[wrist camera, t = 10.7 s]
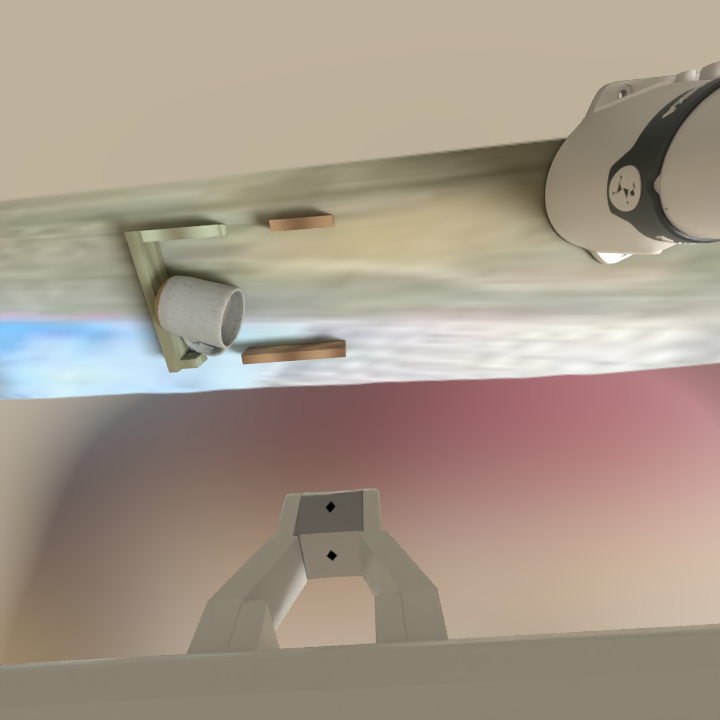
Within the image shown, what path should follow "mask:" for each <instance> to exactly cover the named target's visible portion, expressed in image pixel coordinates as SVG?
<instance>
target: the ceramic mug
mask: <svg viewBox="0 0 720 720" xmlns="http://www.w3.org/2000/svg"><path fill="white" fill-rule="evenodd" d="M154 309H155V317H156V320H157V323H158V324H159V326H160V327H161V328H162V329H163V330H165V331H167V332H169V333H171V334H174V335H177V336H180V337H182V338H183V340H184V341H185V343H186V344H187V345H188V346H189V347H191V348H192V349H193V350H195V351H197V352H199V353H202V354H204V355H208V356H218V355H220V354H222V353H223V352H224V351H225V350H226V349H227V348H229V347H231V345H232V344H233V343H234V341H235V340H236V338H237V336H238V334H239V331H240V329H241V326H242V321H243V316H244V310H245V298H244V294H243V291H242V290H241V289H240V288H237V287H233V286H228V285H224V284H220V283H216V282H211V281H206V280H202V279H198V278H194V277H189V276H172V277H170V278H168V279H167V280H166V281H165V282H164V283H163V284H162V285H161V287H160V289H159V291H158V293H157V296H156V300H155V307H154ZM201 342H202V343H201ZM203 343H205V344H203ZM206 344H209V345H212V346H216V347H212V346H209V345H206Z"/></svg>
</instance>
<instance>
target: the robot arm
mask: <svg viewBox="0 0 720 720" xmlns="http://www.w3.org/2000/svg"><path fill="white" fill-rule="evenodd" d="M620 92H621V93H622V98H620V99H619V93H620ZM545 203H546V210H547V214H548V217H549V220H550V222H551V224H552V226H553V227H554V229H555V230H556V231H557V233H558V234H559V235H560V236H561V237H562V238H564V239H565V240H566V241H568V242H570V243H572V244H574V245H577V246H580V247H582V248H585V249H587V250H589V251H590V253H591V254H592V255H593V256H594V257H595V258H596V259H597V260H598V261H599V262H600V263H602V264H613V263H616V262H618V261H620V260H622V259H624V258H627V257H629V256H631V255H633V254H644V255H653V254H659V253H661V251H662V250H663V249H666V248H668V247H671V246H673V245H675V244H699V243H711V242H717V241H720V61H719V62H716V63H713V64H710V65H708V66H705V67H703V68H702V70H701V71H700V73H696V70H690V71H686V72H682V73H680V74H678V75H673V76H664V77H655V78H646V79H636V80H627V81H617V82H613V83H610V84H607V85H605V86H603V87H602V88H601V89H600V90H599V91H598V92H597V94H596V96H595V97H594V99H593V101H592V103H591V106H590V107H589V110H588V112H587V114H586V116H585V118H584V119H583V121H582V122H581V124H579V126H578V127H577V128H576V129H575V130H574V131H573V132H572V133H571V134H570V135H569V137H568V138H567V139H566V140H565V142H564V143H563V144H562V146H561V147H560V149H559V151H558V152H557V154H556V156H555V158H554V160H553V162H552V165H551V167H550V170H549V173H548V177H547V182H546V189H545ZM335 576H336V577H339V576H363V578H364V580H365V581H366V583H367V585H368V586H369V588H370V590H371V591H372V593H373V595H374V596H375V624H376V643H374V644H357V645H340V646H322V647H304V648H286V649H280V648H279V644H278V641H277V637H276V633H275V630H276V629H277V627H278V626H279V624H280V622H281V621H282V620H283V618H284V617H285V615H286V613H287V612H288V610H289V609H290V607H291V606H292V604H293V602H294V601H295V599H296V598H297V596H298V595H299V593H300V592H301V590H302V588H303V587H304V586H305V584H306V582H307V579H315V578H325V577H335ZM0 720H720V624H708V625H691V626H673V627H657V628H637V629H621V630H602V631H584V632H567V633H550V634H531V635H514V636H498V637H497V636H496V637H478V638H462V639H461V638H460V639H448V636H447V631H446V627H445V622H444V617H443V613H442V608H441V604H440V600H439V595H438V590H437V587H436V586H435V585H434V584H433V583H432V582H431V581H430V579H428V577H427V576H426V575H425V574H424V573H423V571H422V570H421V569H420V568H419V567H418V566H417V564H416V563H415V562H414V561H413V560H412V559H411V557H410V556H409V555H408V554H407V553H406V552H405V550H404V549H403V548H402V547H401V546H400V545H399V544H398V542H397V541H396V540H395V539H394V538H393V537H392V535H391V534H390V533H389V532H388V531H387V530H382V523H381V511H380V499H379V490H378V488H371V489H361V490H347V491H334V492H314V493H300V494H287V496H286V497H285V500H284V504H283V508H282V511H281V515H280V519H279V523H278V527H277V531H276V534H275V537H270V538H269V539H268V540H267V541H266V542H265V543H264V544H263V545H262V546H261V547H260V548H259V549H258V550H257V551H256V552H255V553H254V554H253V555H252V556H251V558H249V559H248V560H247V562H246V563H245V564H244V565H243V566H242V567H241V568H240V569H239V570H238V571H237V572H236V573H235V574H234V575H233V576H232V577H231V578H230V579H229V580H228V581H227V582H226V583H225V584H224V585H223V586H222V587H221V588H220V589H219V590H218V591H217V592H216V593H215V594H214V595H213V596H212V597H211V598H210V599H209V600H208V602H207V604H206V607H205V609H204V612H203V614H202V617H201V619H200V622H199V624H198V627H197V629H196V632H195V634H194V637H193V639H192V642H191V644H190V647H189V649H188V652H187V654H181V655H180V654H179V655H161V656H143V657H127V658H108V659H91V660H73V661H56V662H37V663H19V664H2V665H0Z"/></svg>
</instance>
